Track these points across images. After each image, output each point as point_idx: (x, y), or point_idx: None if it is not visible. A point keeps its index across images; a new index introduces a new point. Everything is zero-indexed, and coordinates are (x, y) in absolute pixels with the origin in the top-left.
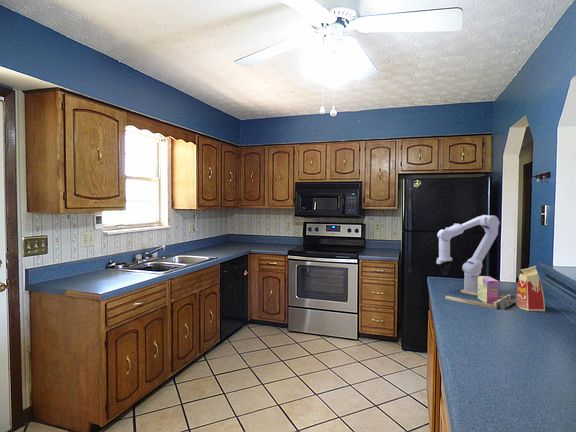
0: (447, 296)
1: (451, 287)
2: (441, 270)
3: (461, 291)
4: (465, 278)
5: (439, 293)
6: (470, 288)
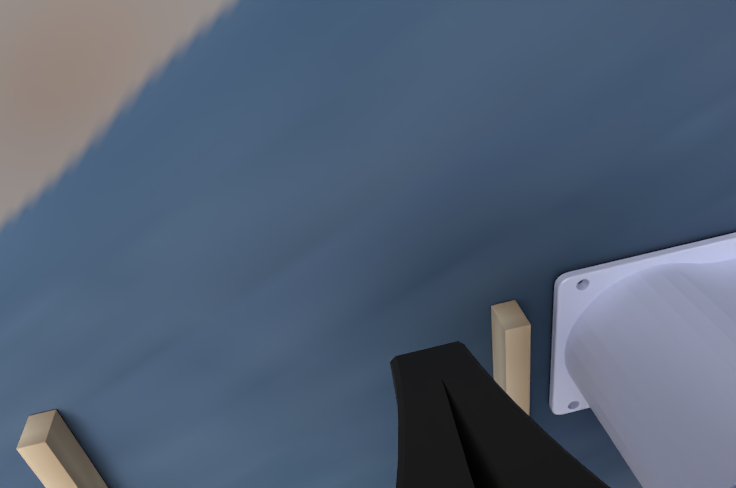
0: (31, 465)
1: (705, 48)
2: (400, 479)
3: (496, 322)
4: (690, 455)
5: (181, 203)
6: (587, 398)
